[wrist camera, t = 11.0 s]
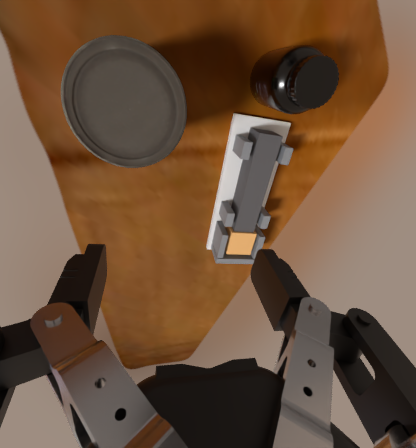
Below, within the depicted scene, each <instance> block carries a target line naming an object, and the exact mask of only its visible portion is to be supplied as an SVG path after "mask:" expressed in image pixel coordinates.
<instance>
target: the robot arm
mask: <svg viewBox="0 0 416 448" xmlns="http://www.w3.org/2000/svg"><path fill="white" fill-rule="evenodd" d="M106 276H107V261H106V246H105V244H88V246H87V248H86V251H85V254H75V255H74V256H73V257H72V258H71V259H69V260H68V261H67V263H66V266H65V267H64V270H63V272H62V274H61V276H60V278H59V280H58V283H57V285H56V287H55V289H54V291H53V293H52V296H51V298H50V300H49V302H48V304H47V305H46V306H45V307H42V308H41V309H39V310H38V311H37V312H36V313H35V314H34V315H33V317H32V318H31V319H29V320H27V321H24V322H20V323H17V324H13V325H9V326H5V327H0V427H1V424H2V422H3V419H4V416H5V414H6V411H7V408H8V406H9V403H10V401H11V398H12V395H13V393H14V390H15V387H16V386H17V385H19V384H22V383H25V382H28V381H30V380H33V379H36V378H39V377H41V376H44V375H45V376H46V378H47V380H48V382H49V384H50V385H51V387H52V389H53V391H54V393H55V395H56V397H57V399H58V401H59V403H60V405H61V407H62V409H63V411H64V413H65V416H66V418H67V421H68V423H69V426H70V428H71V430H72V432H73V435H74V437H75V438H76V441H77V443H78V444H79V447H80V448H360V447H358V446H357V445H356V444H355V443H354V442H353V441H352V440H351V439H350V438H348V437H347V436H346V435H345V434H344V433H343V432H342V431H340V429H338V428H337V427H336V426H335V425H334V424H333V423H332V422H331V421H330V417H331V400H332V380H333V370H334V371H335V373H336V375H337V377H338V379H339V381H340V382H341V384H342V386H343V388H344V390H345V392H346V394H347V396H348V398H349V399H350V401H351V403H352V405H353V407H354V409H355V410H356V412H357V414H358V416H359V418H360V420H361V422H362V424H363V426H364V427H365V429H366V431H367V433H368V435H369V437H370V439H371V440H372V442H373V444H374V448H416V368H415V367H414V365H413V364H412V363H411V362H410V360H409V359H408V358H407V357H406V356H405V354H404V353H403V352H402V351H401V349H400V348H399V347H398V346H397V345H396V343H395V342H394V341H393V340H392V338H391V337H390V336H389V335H388V334H387V332H386V331H385V330H384V329H383V328H382V327H381V325H380V324H379V323H378V321H377V320H376V319H375V318H374V317H373V316H371V315H370V314H369V313H367V312H366V311H363V310H361V309H357V308H352V309H350V310H349V311H348V312H347V314H346V315H344V314H340V313H336V312H332V311H330V310H329V308H328V307H327V306H326V305H325V304H324V303H323V302H321V301H320V300H318V299H316V298H312V297H310V295H309V294H308V292H307V291H306V290H305V288H304V287H303V285H302V284H301V282H300V281H299V279H297V276H296V275H295V273H293V270H292V269H291V267H290V266H289V265H288V264H287V263H286V262H285V261H283V260H282V259H279V258H278V256H277V255H276V253H275V252H274V251H273V250H271V249H259V250H258V251H257V254H256V257H255V260H254V263H253V266H252V269H251V280H252V283H253V285H254V287H255V289H256V292H257V294H258V296H259V298H260V300H261V303H262V305H263V307H264V309H265V311H266V314H267V316H268V318H269V320H270V322H271V325H272V327H273V329H274V331H284V333H285V335H284V337H283V339H282V343H281V347H280V350H279V354H278V357H277V361H276V364H275V368H274V371H273V372H272V371H270V370H268V369H265V368H262V367H259V366H258V365H257V362H256V359H255V358H249V359H237V360H231V361H228V362H226V363H223V364H221V365H218V366H215V367H213V368H202V367H196V366H190V365H185V364H176V365H164V366H156V373H155V375H153V376H151V377H148V378H146V379H144V380H143V381H141V382H140V383H138V384H137V385H136V384H135V382H134V381H133V379H132V378H131V377H130V375H129V374H128V373H127V371H126V370H125V369H124V367H123V366H122V365H121V363H120V362H119V360H118V359H117V358H116V357H115V355H114V354H113V352H112V351H111V350H110V349H109V347H108V346H107V344H106V343H105V342H104V341H102V340H100V341H97V340H96V339H95V338H94V336H93V333H94V329H95V325H96V320H97V316H98V312H99V308H100V304H101V299H102V295H103V291H104V287H105V282H106ZM362 353H363V354H364V356H365V357H366V359H367V360H368V362H369V363H370V365H371V366H372V368H373V369H374V372H375V380H374V379H373V377H372V376H371V374H370V372H369V371H368V369H367V368H366V367H365V365H364V363H363V362H362V360H361V359H360V356H361V355H362Z"/></svg>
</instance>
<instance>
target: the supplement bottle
mask: <svg viewBox="0 0 416 448" xmlns="http://www.w3.org/2000/svg"><path fill="white" fill-rule="evenodd" d="M338 76H339V73H338V68H337V64H336V63H335V62H334V60H332V59H331V58H330V57H328V56H324V55H323V54H322V52H321V51H320V50H318V49H317V48H315V47H313V46H309V45H301V46H294V47H289V48H283V49H278V50H273V51H270V52H268V53H266V54H264V55H263V56H262V57H261V58H260V59H259V60H258V61H257V62H256V64H255V66H254V68H253V70H252V73H251V77H250V87H251V92H252V94H253V96H254V98H255V99H256V100H257V101H258V102H259V103H260V104H262V105H264V106H266V107H269V108H272V109H275V110H278V111H281V112H284V113H287V114H300V113H303V112H305V111H307V110H309V109H312V108H313V109H315V108H317V107H320V106H322V105H324V104H325V103H326V102H327V101H328V100H329V99H330V98H331V96H332V95H333V94H334V91H335V90H336V87H337V85H338V80H339V77H338Z"/></svg>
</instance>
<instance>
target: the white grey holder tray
mask: <svg viewBox="0 0 416 448" xmlns="http://www.w3.org/2000/svg"><path fill="white" fill-rule="evenodd" d="M290 125H291V123H289V122H284V121H278V120H272V119H266V118H261V117H255V116H249V115H243V114H237V113H233V118H232V123H231V128H230V133H229V138H228V142H227V147H226V152H225V157H224V162H223V167H222V172H221V177H220V182H219V187H218V191H217V196H216V201H215V206H214V211H213V216H212V221H211V226H210V231H209V236H208V241H207V245H206V248H207V249H212V252H213V255H214V259H215V262H216V263H228V264H253V263H254V260H255V257H256V254H257V251H258V250H259V249H262V246H263V243H264V240H265V236H264V234H263V233H262V231H261V230H260V229H267V227H268V224H269V221H270V218H271V216H270V215H269V213H268V212H267V211H266V210H265V205H266V202H267V198H268V195H269V192H270V189H271V186H272V182H273V179H274V176H275V173H276V170H277V167H278V163H280V164H283V165H288V164H289V161H290V158H291V155H292V152H293V148H292V147H290V146H288V145H286V144H285V141H286V138H287V135H288V131H289V128H290ZM250 127H251V128H257V129H263V130H269V131H273V132H275V133H277V134H279V135H281V136H283V139H282V142H281V145H280V148H279V152H278V155H277V158H276V161H275V165H274V168H273V171H272V174H271V178H270V181H269V184H268V187H267V191H266V194H265V197H264V200H263V204H262V207H261V210H260V213H259V217H258V220H257V223H256V226H255V232H256V233H257V235H256V238H255V241H254V245H253V248H252V251H251V254H250V255H238V254H226V251H225V247H226V243H227V239H228V233H227V231H226V229H225V227H232V224H233V220H234V216H235V213H234V211H233V209H232V208H231V206H232V202H233V197H234V193H235V189H236V185H237V181H238V177H239V173H240V168H241V164H242V160H243V159H244V160H249V156H250V153H251V149H252V145H253V142H251V141H250V140H249V139H248V135H249V131H250ZM224 226H225V227H224Z"/></svg>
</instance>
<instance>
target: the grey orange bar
mask: <svg viewBox="0 0 416 448" xmlns="http://www.w3.org/2000/svg"><path fill="white" fill-rule="evenodd" d="M248 139H249V140H250V141H251V142H253V145H252V149H251V153H250V156H249V160H244V159H243V160H242V164H241V168H240V173H239V177H238V181H237V185H236V189H235V193H234V197H233V202H232V206H231V208H232V209H233V211H234V213H235V216H234V220H233V224H232V227H225V226H224V227H225V229H226V231H227V233H228V239H227V243H226V247H225V251H226V254H238V255H250V254H251V251H252V248H253V245H254V241H255V238H256V235H257V233H256V232H255V226H256V223H257V220H258V217H259V213H260V210H261V207H262V204H263V200H264V197H265V194H266V191H267V187H268V184H269V181H270V178H271V174H272V171H273V168H274V165H275V161H276V158H277V155H278V152H279V148H280V145H281V142H282V139H283V136H281V135H279V134H277V133H275V132H273V131H269V130H263V129H257V128H251V127H250V131H249V135H248Z"/></svg>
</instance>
